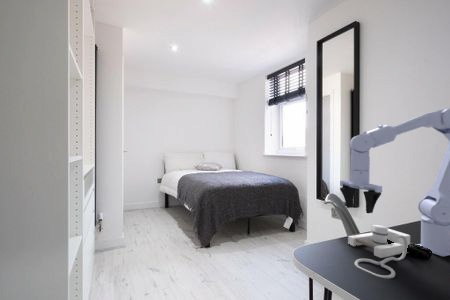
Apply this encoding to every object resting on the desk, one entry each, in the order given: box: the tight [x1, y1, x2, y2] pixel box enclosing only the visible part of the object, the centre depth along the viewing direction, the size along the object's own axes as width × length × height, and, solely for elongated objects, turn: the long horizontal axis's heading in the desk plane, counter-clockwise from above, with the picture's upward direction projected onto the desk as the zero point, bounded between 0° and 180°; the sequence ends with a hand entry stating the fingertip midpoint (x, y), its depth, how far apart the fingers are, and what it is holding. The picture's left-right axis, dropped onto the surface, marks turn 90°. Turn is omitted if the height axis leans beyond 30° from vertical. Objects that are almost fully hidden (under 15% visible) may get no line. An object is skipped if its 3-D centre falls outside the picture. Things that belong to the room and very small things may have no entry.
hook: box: [354, 235, 408, 279], centre depth 66 cm, size 7×9×20 cm
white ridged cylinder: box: [372, 224, 389, 246], centre depth 77 cm, size 4×4×6 cm
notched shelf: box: [347, 224, 411, 259], centre depth 76 cm, size 13×11×5 cm
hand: (359, 210), depth 82 cm, fingers open, 7 cm apart
